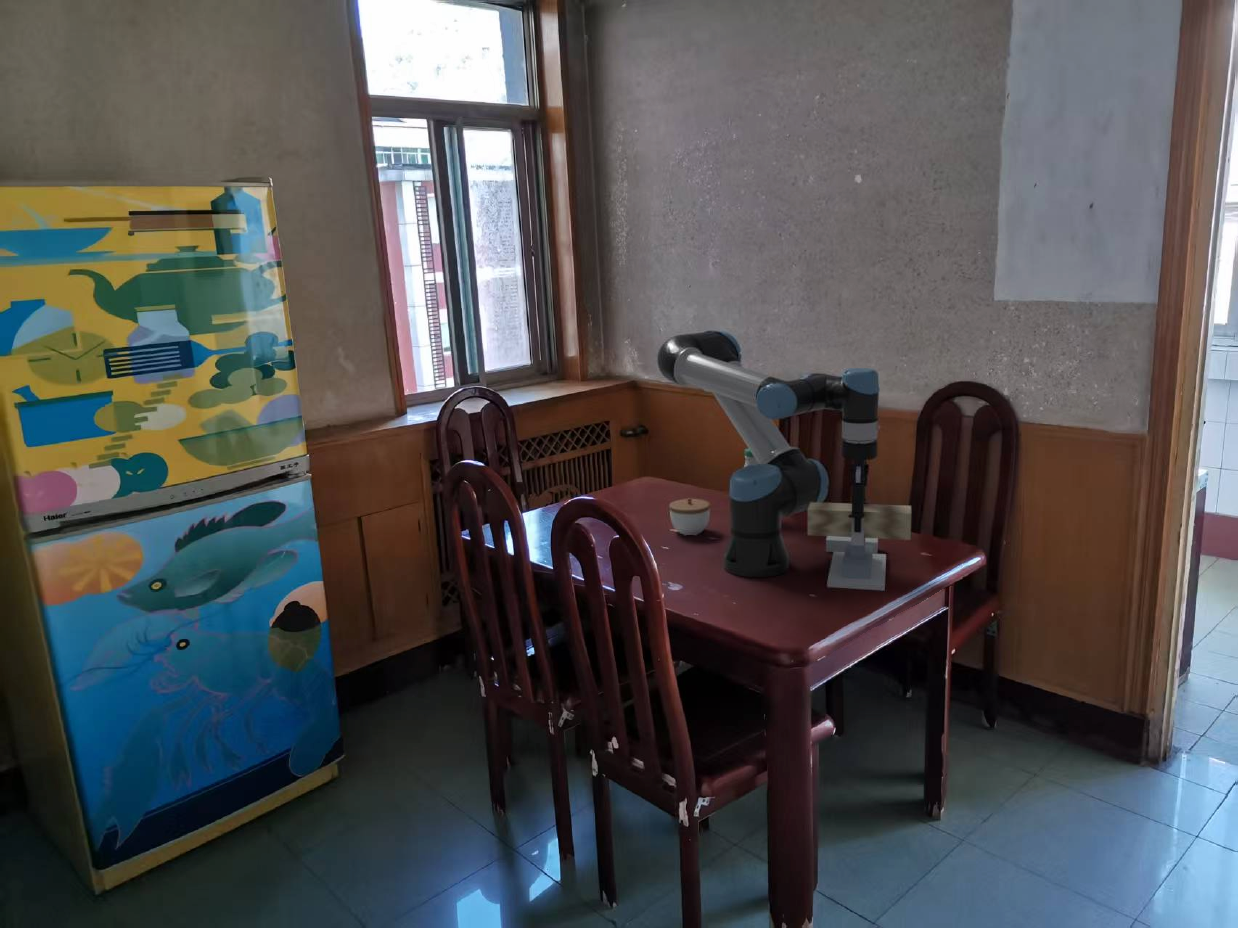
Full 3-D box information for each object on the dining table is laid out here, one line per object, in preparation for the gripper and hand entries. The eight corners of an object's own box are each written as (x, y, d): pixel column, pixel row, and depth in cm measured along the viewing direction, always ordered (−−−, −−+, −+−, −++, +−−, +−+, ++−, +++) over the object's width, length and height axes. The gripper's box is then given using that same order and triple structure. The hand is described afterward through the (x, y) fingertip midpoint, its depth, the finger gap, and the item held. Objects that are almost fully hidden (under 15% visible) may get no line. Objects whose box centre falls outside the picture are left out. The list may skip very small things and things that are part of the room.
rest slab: (826, 551, 214) (826, 540, 213) (827, 546, 217) (827, 534, 217) (877, 554, 210) (877, 542, 209) (877, 549, 214) (878, 537, 213)
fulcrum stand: (827, 586, 192) (827, 551, 190) (833, 556, 210) (833, 523, 208) (884, 590, 188) (885, 554, 186) (885, 559, 207) (886, 525, 205)
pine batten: (807, 535, 198) (807, 509, 196) (810, 526, 203) (810, 502, 202) (910, 540, 191) (911, 513, 190) (910, 531, 196) (911, 505, 195)
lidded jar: (709, 538, 228) (708, 504, 225) (668, 538, 229) (667, 504, 227) (711, 526, 238) (710, 492, 236) (672, 526, 240) (671, 492, 237)
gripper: (876, 449, 182) (874, 555, 188) (878, 431, 200) (876, 528, 205) (839, 449, 184) (838, 553, 190) (844, 430, 202) (843, 526, 207)
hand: (858, 540), depth 197 cm, fingers closed on pine batten, 6 cm apart
